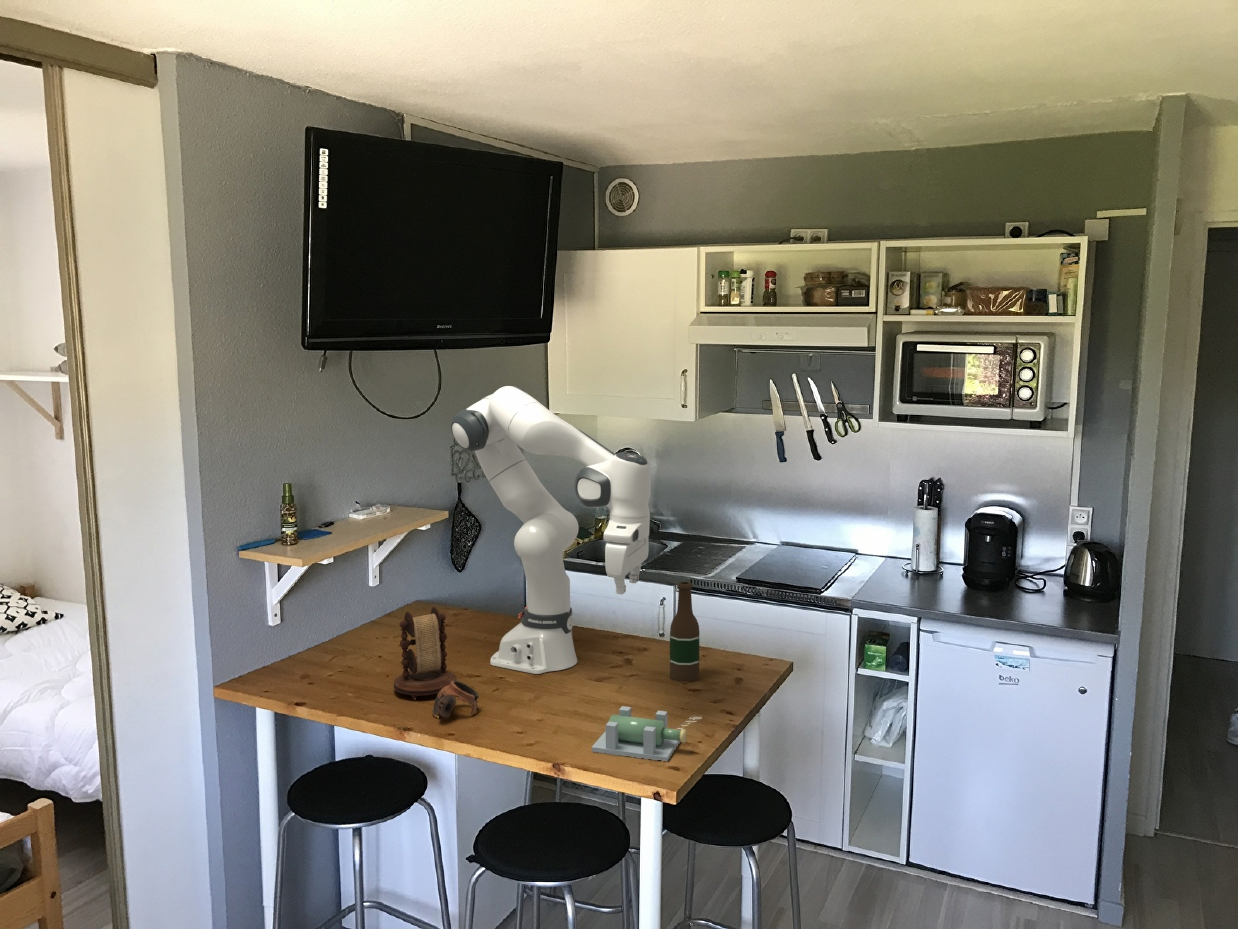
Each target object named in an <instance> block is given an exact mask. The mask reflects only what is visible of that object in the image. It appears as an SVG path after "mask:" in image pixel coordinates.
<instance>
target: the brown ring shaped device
mask: <svg viewBox="0 0 1238 929" xmlns="http://www.w3.org/2000/svg"><path fill="white" fill-rule="evenodd" d="M479 697H480V696H479V693H478V692H477V691H476V690H474V688H472V687H471V686H469V685H467V684H465V683H463V682H461V681H459V680H456V681H451V683H450V685H448V686H446V687H444V688H442V689H441V691H440V692H439V693H438V694H436V698H435V700H434V703H433V708H432V712H433V713H432V712H431V713H432V715H433V714H434V715H437V716H439V717H440V716H441V717H442V718H444V719H445V718H446V719H447V718H448V719H449V718H450V716H451V713H452V711H453V709H454V707H455V705H456V704H457V700H459V701H462V702H464V703H468V704H469V705H471V706H472V709H471V711H470V714H471V716H474V715H475V714H476V712H477V710H478V699H479ZM474 713H475V714H474ZM473 714H474V715H473ZM434 715H433V716H434Z"/></svg>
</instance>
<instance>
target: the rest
mask: <svg viewBox="0 0 1238 929" xmlns="http://www.w3.org/2000/svg"><path fill="white" fill-rule="evenodd" d="M618 715H620V716H629V717H632V707H631V706H624V705H622V706H621V707H620V708H619V709H618ZM655 720H661V721H665V724H666V728H668V711H664V710H657V712H656V713H655ZM680 743H681V742H680V741H675V740H667V739H665V740H664V743H663V745H662V746H658V745H656V727H649V726H646V727H645V728H644V730H643V743H635V742H627V741H620V740H618V723H617V722H609V721H608V722H607V723H606V724H605V731H604V732H603V733H602V735H601V736H600V737H599V738H598V739H596V741H595V742H594V744H593V745H592V746H591V753H597V752H598V754H605V753H606V754H605V755H614V756H620V755H621V757H626V756H631V757H630V758H634V757H636V758H635V759H641V758H644V760H648V759H652V760H651V761H655V760H662V761H661V762H663V760H664V761H667V760H668V759H669V760H670V759H671V757H670V756H672V755H673V754H674V752H675V751H676V749H677V748H676V746H677V747H678V746H679V745H678V744H680ZM674 750H675V751H674ZM673 751H674V752H673ZM672 753H673V754H672ZM671 754H672V755H671ZM669 760H668V761H669ZM668 761H667V762H668Z"/></svg>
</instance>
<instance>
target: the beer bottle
mask: <svg viewBox="0 0 1238 929" xmlns="http://www.w3.org/2000/svg"><path fill="white" fill-rule="evenodd" d="M677 588H678V594H677V596H678V597H677V598H678V599H677V610H676V614H675V615H674V617H673V619H672V621H671V623H670V631H669V678H670V679H671V680H673V681H675V682H677V683H691V681H692V682H695V681H698V680H699V678H700V625H699V622H698V619H697V617H696V616H695V615H694V613H693V601H692V600H693V599H692V588H693V584H692V582H690V581H679V582H678V584H677Z"/></svg>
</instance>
